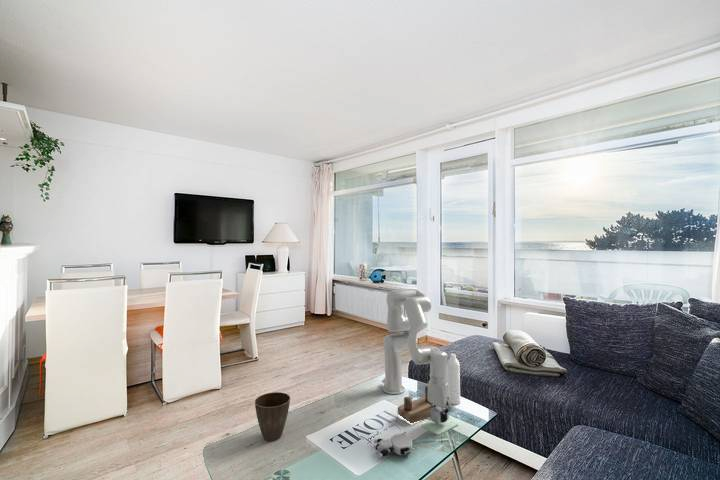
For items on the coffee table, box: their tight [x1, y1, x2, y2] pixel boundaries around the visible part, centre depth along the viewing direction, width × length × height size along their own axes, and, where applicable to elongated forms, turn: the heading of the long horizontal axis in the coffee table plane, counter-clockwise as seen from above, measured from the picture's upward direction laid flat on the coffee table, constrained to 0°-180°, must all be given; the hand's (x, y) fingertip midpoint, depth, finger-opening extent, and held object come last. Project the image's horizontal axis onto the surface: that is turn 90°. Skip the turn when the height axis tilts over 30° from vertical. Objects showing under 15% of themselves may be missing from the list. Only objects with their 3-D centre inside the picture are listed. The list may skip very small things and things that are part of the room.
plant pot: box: [254, 391, 291, 442], centre depth 147 cm, size 15×15×16 cm
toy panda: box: [373, 431, 416, 458], centre depth 136 cm, size 12×4×15 cm
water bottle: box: [446, 353, 461, 405], centre depth 179 cm, size 9×6×25 cm
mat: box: [420, 419, 459, 436], centre depth 155 cm, size 10×14×1 cm
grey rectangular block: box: [429, 406, 450, 424], centre depth 155 cm, size 5×7×5 cm
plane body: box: [397, 385, 431, 423], centre depth 165 cm, size 9×20×12 cm, turn 127°
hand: (439, 418), depth 155 cm, fingers closed on grey rectangular block, 5 cm apart
